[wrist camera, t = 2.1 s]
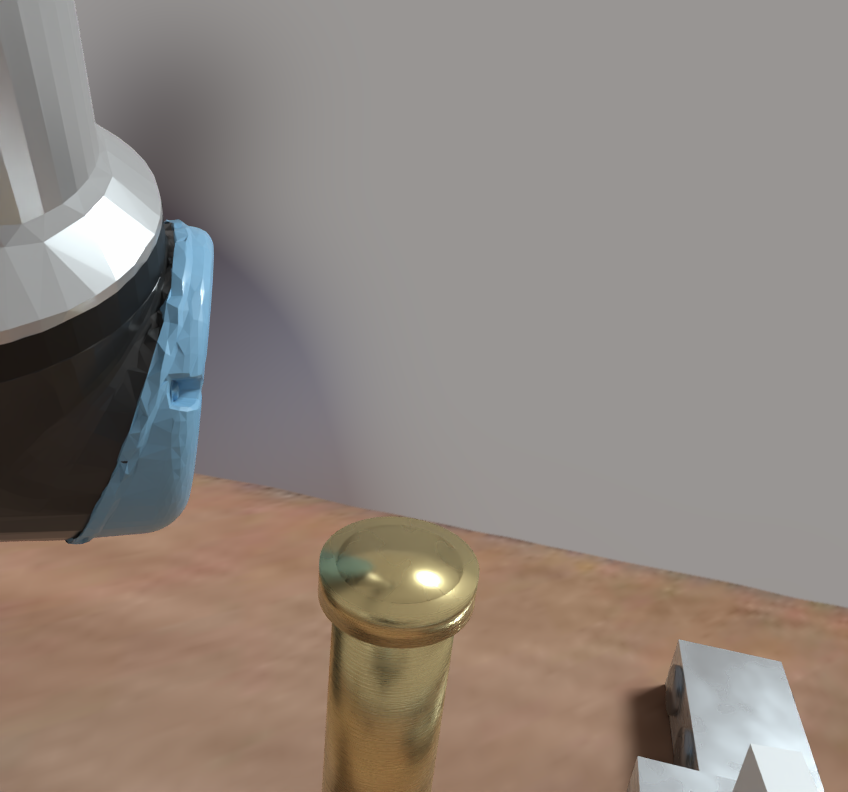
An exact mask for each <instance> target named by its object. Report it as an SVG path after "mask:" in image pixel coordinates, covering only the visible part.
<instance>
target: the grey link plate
mask: <svg viewBox="0 0 848 792" xmlns="http://www.w3.org/2000/svg"><path fill="white" fill-rule="evenodd" d="M665 687H666V711H667V714H668V715H669V720H670V728H671V736H672V744H673V753H674V761H673V765H672V764H668V763H664V762H660V761H656V760H652V759H648V758H644V757H640V756H637V759H636V762H635V766H634V769H633V772H632V776H631V779H630V782H629V786H628V789H627V792H733V789H734V786H735V783H736V781H737V778H738V775H739V773H740V770H741V767H742V765H743V762H744V759H745V756H746V754H747V751H748V748H749V746H750V743H751V744H757V745H762V746H768V747H774V748H780V749H786V750H792V751H798V752H802V755H803V757H804V759H805V762H806V764H807V766H808V769H809V771H810V773H811V776H812V778H813V780H814V783H815V785H816V787H817V790H818V792H824V789H823V786H822V783H821V780H820V777H819V773H818V769H817V766H816V764H815V762H814V759H813V756H812V753H811V750H810V747H809V744H808V741H807V738H806V735H805V732H804V729H803V726H802V723H801V720H800V717H799V714H798V711H797V708H796V705H795V700H794V697H793V695H792V693H791V690H790V687H789V684H788V681H787V678H786V675H785V672H784V669H783V666H782V663H781V662H779V661H775V660H770V659H766V658H761V657H756V656H752V655H747V654H743V653H738V652H734V651H729V650H725V649H720V648H715V647H711V646H706V645H702V644H697V643H693V642H688V641H684V640H678V643H677V646H676V650H675V653H674V656H673V659H672V663H671V666H670V669H669V672H668V676H667V679H666V682H665Z"/></svg>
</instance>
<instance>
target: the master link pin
mask: <svg viewBox="0 0 848 792" xmlns="http://www.w3.org/2000/svg"><path fill="white" fill-rule="evenodd" d="M478 579H479V565H478V561H477V558H476V556H475V554H474V553H473V551H472V550H471V548H470V547H469V546H468V545H467V544H466V543H465V542H464V541H463V540H462V539H461V538H459V537H458V536H457V535H455V534H454V533H452V532H450V531H449V530H447V529H445V528H443V527H441V526H438V525H436V524H433V523H430V522H426V521H423V520H418V519H413V518H406V517H377V518H370V519H366V520H361V521H358V522H355V523H352V524H350V525H348V526H346V527H344V528H342V529H340V530H339V531H337V532H336V533H335V534H333V535H332V536H331V537H330V538H329V539H328V540H327V542H326V543H325V545H324V546H323V548H322V551H321V554H320V561H319V581H318V598H319V602H320V605H321V608H322V610H323V612H324V613H325V615H326V616H327V618H328V619H329V620H330V621H331V622H332V632H331V649H330V666H329V682H328V699H327V716H326V733H325V749H324V766H323V783H322V792H431V788H432V781H433V774H434V767H435V760H436V753H437V747H438V740H439V733H440V726H441V719H442V713H443V706H444V699H445V692H446V685H447V678H448V672H449V665H450V658H451V651H452V644H453V638H454V634H456V633H457V632H459V631H460V630H461V629H462V628H463V627H464V626H465V625H466V623H467V622H468V621H469V619H470V617H471V615H472V613H473V609H474V604H475V598H476V591H477V585H478Z"/></svg>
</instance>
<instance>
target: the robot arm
mask: <svg viewBox="0 0 848 792" xmlns="http://www.w3.org/2000/svg"><path fill="white" fill-rule="evenodd" d="M213 255H214V254H213V242H212V240H211V238H210V236H209V235H208V234H207V232H205V231H203V230H201V229H199V228H196V227H191V226H187V225H186V224H185V223H183V222H182V221H180V220H171V221H169V220H166V221H163V212H162V202H161V198H160V194H159V190H158V187H157V184H156V181H155V178H154V175H153V173H152V172H151V170H150V169H149V167H148V166H147V164H146V162H145V161H144V160H143V159H142V158H141V157H140V156H139V155H138V154H137V153H136V152H135V151H134V150H133V148H131V147H130V146H129V145H127V144H126V143H125V142H124V141H122V140H121V139H120V138H119V137H117V136H115V135H114V134H112V133H111V132H109V131H107V130H106V129H104V128H102V127H101V126H99V125H98V124H96V123H95V118H94V112H93V107H92V101H91V95H90V89H89V83H88V77H87V72H86V66H85V59H84V54H83V48H82V42H81V36H80V30H79V25H78V19H77V13H76V7H75V2H74V0H0V542H7V541H49V540H65V541H66V542H67V543H69V544H83V543H86V542H89V541H90V540H91V539H93V538H97V537H108V536H119V535H131V534H142V533H150V532H154V531H157V530H160V529H162V528H164V527H166V526H168V525H169V524H171V523H172V522H173V521H174V520H175V519H176V518H177V517H178V516H179V515H180V514H181V513H182V511H183V510H184V508H185V506H186V505H187V502H188V500H189V496H190V491H191V487H192V481H193V475H194V467H195V460H196V452H197V443H198V434H199V424H200V414H201V401H202V394H201V389H202V385H203V381H204V369H205V360H206V354H207V345H208V334H209V323H210V322H209V321H210V309H211V295H212V280H213V259H214V256H213ZM733 792H818V790H817V787H816V785H815V783H814V780H813V778H812V776H811V773H810V771H809V769H808V766H807V764H806V762H805V759H804V757H803V755H802V752H798V751H792V750H786V749H780V748H774V747H768V746H762V745H757V744H751V743H750V746H749V748H748V751H747V754H746V756H745V759H744V762H743V765H742V767H741V770H740V773H739V775H738V778H737V781H736V783H735V786H734V789H733Z"/></svg>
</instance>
